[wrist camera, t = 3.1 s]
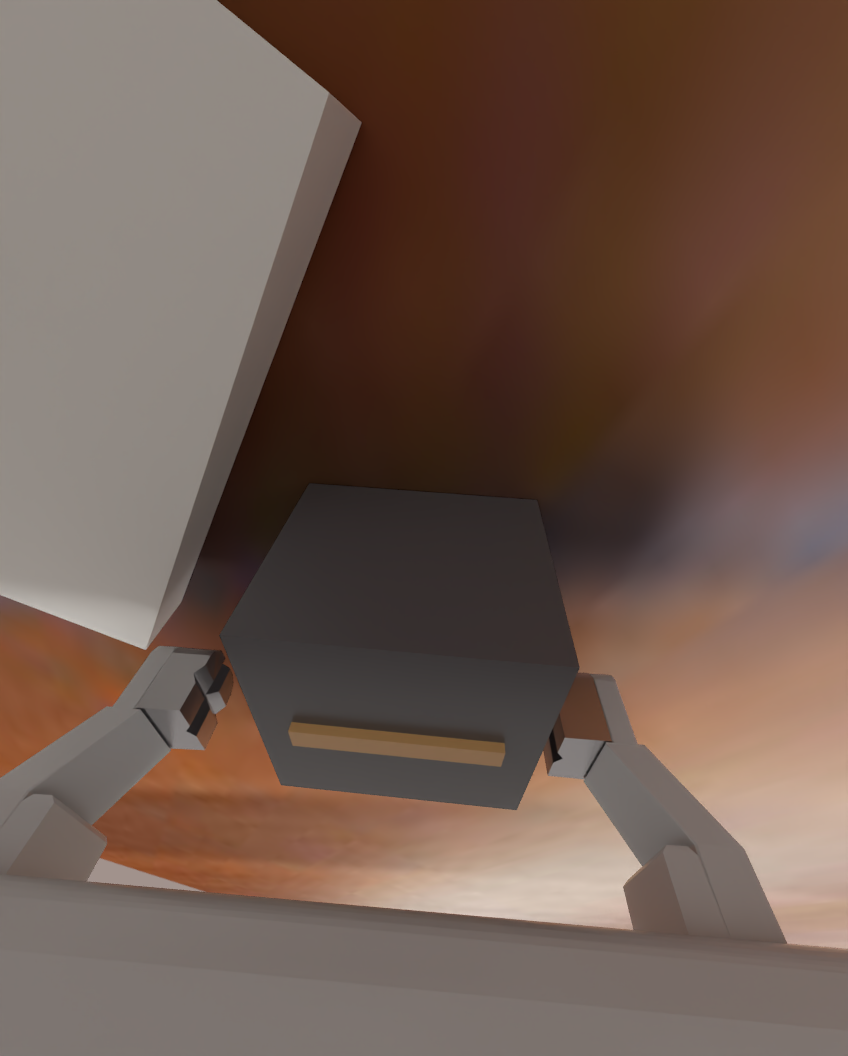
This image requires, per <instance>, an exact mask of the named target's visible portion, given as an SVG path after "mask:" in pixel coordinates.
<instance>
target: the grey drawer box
mask: <svg viewBox="0 0 848 1056" xmlns="http://www.w3.org/2000/svg"><path fill="white" fill-rule="evenodd" d="M219 636H220V638H221V640H222V643H223V645H224V648H225V650H226V653H227V655H228V657H229V660H230V662H231V665H232V667H233V670H234V672H235V674H236V677H237V679H238V682H239V684H240V687H241V689H242V691H243V694H244V696H245V699H246V701H247V703H248V706H249V708H250V711H251V713H252V716H253V718H254V720H255V723H256V725H257V728H258V730H259V733H260V735H261V737H262V740H263V742H264V745H265V747H266V750H267V752H268V754H269V757H270V759H271V762H272V764H273V767H274V769H275V771H276V774H277V776H278V779H279V781H280V783H281V785H285V786H294V787H304V788H313V789H323V790H332V791H342V792H351V793H361V794H370V795H379V796H389V797H398V798H408V799H417V800H427V801H436V802H445V803H455V804H464V805H474V806H483V807H493V808H502V809H511V810H517V808H518V806H519V803H520V801H521V799H522V797H523V794H524V792H525V790H526V788H527V785H528V783H529V781H530V779H531V776H532V774H533V772H534V770H535V767H536V765H537V763H538V761H539V758H540V756H541V754H542V752H543V749H544V747H545V745H546V742H547V740H548V738H549V736H550V733H551V731H552V729H553V727H554V724H555V722H556V720H557V718H558V715H559V713H560V711H561V709H562V706H563V704H564V702H565V700H566V697H567V695H568V693H569V691H570V688H571V686H572V684H573V682H574V679H575V677H576V675H577V673H578V670H579V664H578V660H577V656H576V652H575V648H574V644H573V640H572V636H571V632H570V628H569V624H568V620H567V616H566V612H565V608H564V604H563V600H562V596H561V592H560V588H559V584H558V580H557V576H556V573H555V569H554V565H553V561H552V557H551V553H550V549H549V545H548V541H547V537H546V533H545V529H544V525H543V521H542V517H541V513H540V509H539V505H538V501H537V500H530V499H517V498H503V497H489V496H476V495H462V494H448V493H435V492H421V491H408V490H394V489H380V488H367V487H353V486H339V485H326V484H312V483H309V484H308V486H307V488H306V490H305V491H304V493H303V495H302V496H301V498H300V500H299V501H298V503H297V505H296V506H295V508H294V510H293V511H292V513H291V515H290V517H289V518H288V520H287V522H286V523H285V525H284V527H283V528H282V530H281V532H280V533H279V535H278V537H277V539H276V540H275V542H274V544H273V545H272V547H271V549H270V550H269V552H268V554H267V555H266V557H265V559H264V561H263V562H262V564H261V566H260V567H259V569H258V571H257V572H256V574H255V576H254V577H253V579H252V581H251V583H250V584H249V586H248V588H247V589H246V591H245V593H244V594H243V596H242V598H241V599H240V601H239V603H238V605H237V606H236V608H235V610H234V611H233V613H232V615H231V616H230V618H229V620H228V621H227V623H226V625H225V627H224V628H223V630H222V632H221V633H220V635H219Z"/></svg>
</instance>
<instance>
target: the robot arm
mask: <svg viewBox="0 0 848 1056" xmlns="http://www.w3.org/2000/svg"><path fill="white" fill-rule="evenodd" d="M224 660H225V657H224V655H223V653H222V651H221V650H209V649H195V648H182V647H170V646H158V647H157V648H156V649H154V650H153V651H152V652H151V653H150V655H149V656H148V658H147V659H146V660H145V662H144V663H143V665H142V666H141V667H140V669H139V670H138V672H137V673H136V674H135V676H134V677H133V679H132V680H131V681H130V683H129V684H128V686H127V687H126V689H125V690H124V691H123V693H122V694H121V696H120V697H119V698H118V700H117V701H116V703H115V704H114V705H113V707H105V708H104V709H102V710H101V711H99V712H98V713H96V714H95V715H93V716H92V717H90V718H89V719H87V720H86V721H84V722H83V723H81V724H80V725H78V726H77V727H76V728H74V729H73V730H71V731H70V732H68V733H67V734H65V735H64V736H62V737H61V738H59V739H58V740H56V741H55V742H53V743H52V744H50V745H49V746H47V747H46V748H44V749H43V750H41V751H40V752H38V753H37V754H35V755H34V756H32V757H31V758H29V759H28V760H26V761H25V762H23V763H22V764H20V765H19V766H18V767H16V768H15V769H13V770H12V771H10V772H9V773H7V774H6V775H4V776H3V777H1V778H0V1056H848V949H842V948H831V947H819V946H808V945H797V944H787V942H786V940H785V937H784V935H783V933H782V931H781V929H780V926H779V924H778V922H777V920H776V918H775V915H774V913H773V911H772V909H771V907H770V904H769V902H768V900H767V898H766V896H765V893H764V891H763V889H762V887H761V885H760V882H759V880H758V878H757V876H756V874H755V871H754V869H753V867H752V865H751V863H750V861H749V858H748V856H747V854H746V852H745V850H744V848H743V847H742V846H741V845H740V844H739V843H738V842H737V841H736V840H735V839H734V838H733V837H732V836H731V835H730V834H729V833H728V832H727V831H726V830H725V829H724V828H723V827H722V825H721V824H720V823H719V822H718V821H717V820H716V819H715V818H714V817H713V816H712V815H711V814H710V813H709V812H708V811H707V810H706V809H705V808H704V807H703V806H702V805H701V804H700V803H699V801H698V800H697V799H696V798H695V797H694V796H693V795H692V794H691V793H690V792H689V791H688V790H687V789H686V788H685V787H684V786H683V785H682V784H681V783H680V782H679V781H678V780H677V779H676V778H675V776H674V775H673V774H672V773H671V772H670V771H669V770H668V769H667V768H666V767H665V766H664V765H663V764H662V763H661V762H660V761H659V760H658V759H657V758H656V757H655V756H654V755H653V754H652V753H651V751H650V750H649V749H648V748H647V747H646V746H645V745H640V744H637V741H636V738H635V735H634V732H633V730H632V727H631V724H630V721H629V718H628V715H627V712H626V710H625V707H624V704H623V701H622V698H621V695H620V693H619V690H618V687H617V684H616V681H615V679H614V678H613V677H612V676H611V675H606V674H589V673H577V675H576V677H575V679H574V682H573V684H572V686H571V688H570V691H569V693H568V695H567V697H566V700H565V702H564V704H563V706H562V709H561V711H560V713H559V715H558V718H557V720H556V722H555V724H554V727H553V729H552V731H551V733H550V736H549V738H548V740H547V742H546V745H545V747H544V749H543V751H544V757H545V763H546V768H547V774H548V776H557V777H567V778H576V779H585V780H584V782H585V784H586V785H587V787H588V788H589V790H590V791H591V793H592V794H593V795H594V797H595V798H596V800H597V801H598V803H599V804H600V806H601V807H602V809H603V810H604V811H605V813H606V814H607V816H608V817H609V819H610V820H611V822H612V823H613V824H614V826H615V827H616V829H617V830H618V832H619V833H620V835H621V836H622V838H623V839H624V840H625V842H626V843H627V845H628V846H629V848H630V849H631V851H632V852H633V853H634V855H635V856H636V858H637V859H638V861H639V862H640V864H641V865H642V866H643V867H642V868H641V869H639V870H638V871H637V872H636V873H635V874H634V875H633V876H632V877H631V878H630V879H629V880H628V881H627V882H626V883H625V885H624V886H623V888H624V892H625V896H626V900H627V905H628V909H629V913H630V917H631V921H632V925H633V929H634V930H628V929H616V928H605V927H594V926H582V925H571V924H560V923H549V922H537V921H526V920H515V919H504V918H492V917H481V916H470V915H458V914H447V913H436V912H425V911H413V910H402V909H391V908H379V907H368V906H357V905H346V904H334V903H323V902H312V901H300V900H289V899H278V898H267V897H255V896H244V895H233V894H221V893H210V892H199V891H187V890H176V889H165V888H154V887H142V886H131V885H119V884H109V883H97V882H86V881H87V879H88V878H89V876H90V874H91V872H92V870H93V869H94V867H95V865H96V863H97V861H98V859H99V858H100V856H101V854H102V852H103V850H104V848H105V847H106V845H107V839H106V836H105V835H103V834H102V833H101V832H99V831H98V830H97V829H95V828H94V827H93V826H92V824H94V823H95V822H96V821H97V820H98V819H99V818H100V817H101V816H102V815H103V814H104V813H105V812H106V811H107V810H108V809H109V808H110V807H112V806H113V805H114V804H115V803H116V802H117V801H118V800H119V799H120V798H121V797H122V796H123V795H124V794H125V793H126V792H127V791H128V790H130V789H131V788H132V787H133V786H134V785H135V784H136V783H137V782H138V781H139V780H140V779H141V778H142V777H143V776H144V775H145V774H146V773H148V772H149V771H150V770H151V769H152V768H153V767H154V766H155V765H156V764H157V763H158V762H159V761H160V760H161V759H162V758H163V757H165V756H166V755H167V754H168V753H169V752H170V751H171V749H170V748H174V749H196V750H205V749H206V747H207V744H208V742H209V740H210V738H211V736H212V734H213V732H214V730H215V728H216V726H217V724H218V722H217V718H216V713H218V712H219V711H220V710H221V709H223V708H224V707H225V706H226V704H227V702H228V700H229V698H230V696H231V692H232V687H233V674H232V672H231V670H230V668H228V667H227V666H225V665H224V664H223V662H224Z"/></svg>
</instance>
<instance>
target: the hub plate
mask: <svg viewBox="0 0 848 1056" xmlns="http://www.w3.org/2000/svg"><path fill="white" fill-rule="evenodd" d="M361 123H362V122H361V121H360V120H359V119H357V118H356V117H355V116H354V115H353V114H352V113H351V112H350V111H349V110H348V109H347V108H345V107H344V106H343V105H342V104H341V103H340V102H339V101H338V100H337V99H336V98H335V97H334V96H332V95H331V94H330V93H329V92H328V91H327V90H325V89H324V88H323V87H322V86H321V85H319V84H318V83H317V82H316V81H315V80H313V79H312V78H311V77H310V76H308V75H307V74H306V73H305V72H304V71H302V70H301V69H300V68H299V67H297V66H296V65H295V64H294V63H293V62H291V61H290V60H289V59H288V58H287V57H285V56H284V55H283V54H282V53H280V52H279V51H278V50H277V49H276V48H274V47H273V46H272V45H271V44H269V43H268V42H267V41H266V40H265V39H263V38H262V37H261V36H260V35H258V34H257V33H256V32H255V31H254V30H252V29H251V28H250V27H249V26H248V25H246V24H245V23H244V22H243V21H241V20H240V19H239V18H238V17H237V16H235V15H234V14H233V13H232V12H230V11H229V10H228V9H227V8H226V7H224V6H223V5H222V4H221V3H220V2H218V1H217V0H0V595H2V596H4V597H7V598H10V599H12V600H15V601H18V602H20V603H23V604H26V605H28V606H31V607H33V608H36V609H39V610H41V611H44V612H47V613H49V614H52V615H55V616H57V617H60V618H63V619H65V620H68V621H70V622H73V623H76V624H78V625H81V626H84V627H86V628H89V629H92V630H94V631H97V632H100V633H102V634H105V635H107V636H110V637H113V638H115V639H118V640H121V641H123V642H126V643H129V644H131V645H134V646H137V647H139V648H142V649H144V650H146V649H147V648H148V646H149V645H150V644H151V642H152V641H153V640H154V638H155V637H156V636H157V634H158V633H159V632H160V630H161V629H162V628H163V626H164V625H165V623H166V622H167V621H168V619H169V618H170V617H171V615H172V614H173V613H174V611H175V610H176V609H177V607H178V606H179V605H180V603H181V602H182V599H183V597H184V594H185V591H186V589H187V586H188V583H189V581H190V578H191V575H192V573H193V570H194V567H195V565H196V562H197V559H198V557H199V554H200V551H201V549H202V546H203V543H204V541H205V538H206V535H207V533H208V530H209V527H210V525H211V522H212V520H213V517H214V514H215V512H216V509H217V506H218V504H219V501H220V498H221V496H222V493H223V490H224V488H225V485H226V482H227V480H228V477H229V474H230V472H231V469H232V466H233V464H234V461H235V458H236V456H237V453H238V450H239V448H240V445H241V442H242V440H243V437H244V434H245V432H246V429H247V426H248V424H249V421H250V419H251V416H252V413H253V411H254V408H255V405H256V403H257V400H258V397H259V395H260V392H261V389H262V387H263V384H264V381H265V379H266V376H267V373H268V371H269V368H270V365H271V363H272V360H273V357H274V355H275V352H276V349H277V347H278V344H279V341H280V339H281V336H282V333H283V331H284V328H285V325H286V323H287V320H288V318H289V315H290V312H291V310H292V307H293V304H294V302H295V299H296V296H297V294H298V291H299V288H300V286H301V283H302V280H303V278H304V275H305V272H306V270H307V267H308V264H309V262H310V259H311V256H312V254H313V251H314V248H315V246H316V243H317V240H318V238H319V235H320V232H321V230H322V227H323V224H324V222H325V219H326V217H327V214H328V211H329V209H330V206H331V203H332V201H333V198H334V195H335V193H336V190H337V187H338V185H339V182H340V179H341V177H342V174H343V171H344V169H345V166H346V163H347V161H348V158H349V155H350V153H351V150H352V147H353V145H354V142H355V139H356V137H357V134H358V131H359V129H360V126H361Z"/></svg>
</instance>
